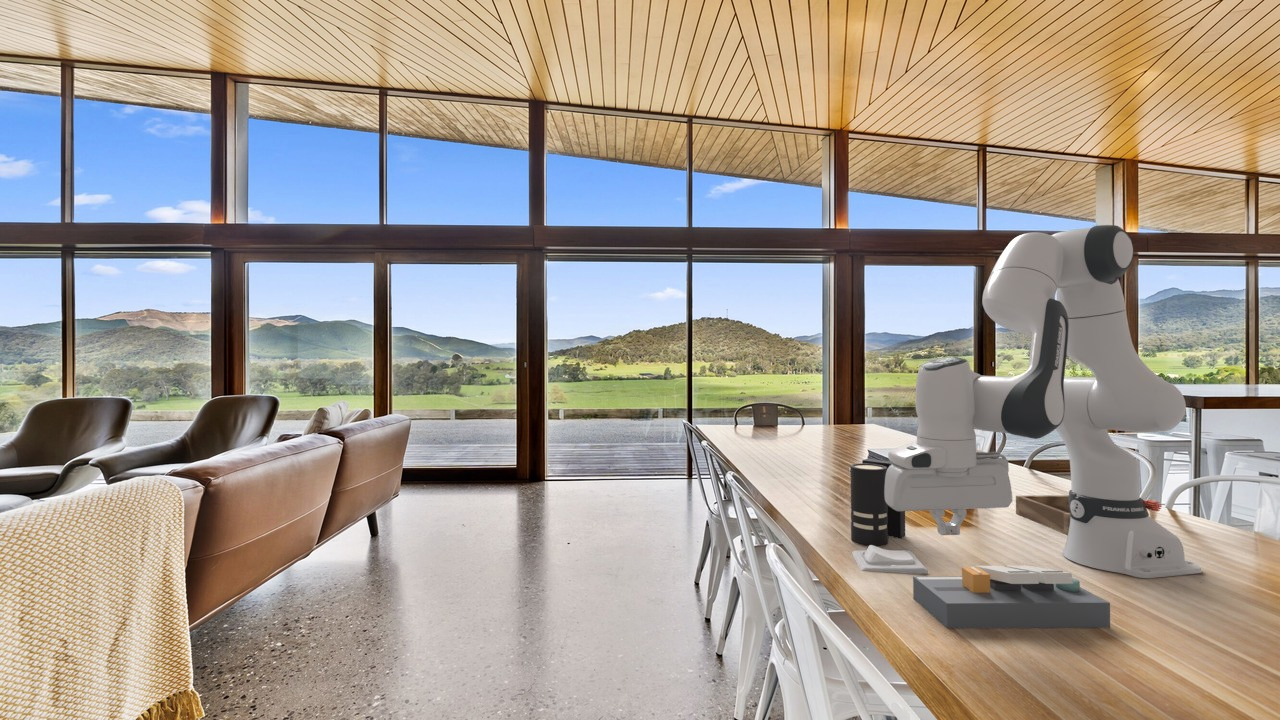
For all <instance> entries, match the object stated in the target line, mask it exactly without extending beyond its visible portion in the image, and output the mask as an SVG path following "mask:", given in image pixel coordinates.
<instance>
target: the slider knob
mask: <svg viewBox="0 0 1280 720" xmlns="http://www.w3.org/2000/svg"><path fill="white" fill-rule="evenodd" d="M961 576H962V585H963V586H965V587H966V588H967V589H969V590H970V591H972V592H973V593H990V574H988V573H986V572H985V571H983V570H982V569H980V568H978V567H974V566H969V567H967V566H966V567H961Z"/></svg>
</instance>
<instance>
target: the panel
mask: <svg viewBox="0 0 1280 720" xmlns="http://www.w3.org/2000/svg"><path fill="white" fill-rule="evenodd" d="M912 584H913V585H912V586H913V587H912V589H913V592H912V593H913V594H912V595H913V600H914V601H915V602H917V604H919V605H920V606H921V607H922V608H924V610H926V611H927V612H928V613H929V614H930V615H931V616H932V617H933V618H935V619H936V620H937V621H938V622H939V623H940V624H941V625H943V626H944V628H946V629H1072V628H1073V629H1077V628H1078V629H1086V628H1089V629H1091V628H1092V629H1095V628H1096V629H1097V628H1098V629H1101V628H1103V629H1106V628H1107V629H1108V628H1110V629H1111V602H1110V601H1108V600H1106V599H1104V598H1103V597H1100V596H1098V595H1097V594H1094V593H1092V592H1091V591H1089V590H1087V589H1085V588H1082V587H1080V591H1079V592H1069V591H1064V590H1061V589H1059V588H1057V587H1056V584H1045V583H1040V582H1039V584H1010V583H1006V582H1001V581H997V580H993V579H990V593H973V592H972V591H970V590H969V589H967V588H966V587H965V586H963V585H962V575H959V576H958V575H957V576H956V575H955V576H954V575H948V576H947V575H946V576H943V575H940V576H939V575H936V576H933V575H932V576H931V575H929V576H927V575H926V576H925V575H924V576H921V575H920V576H919V575H918V576H917V575H916V576H912Z"/></svg>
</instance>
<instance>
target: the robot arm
mask: <svg viewBox="0 0 1280 720" xmlns="http://www.w3.org/2000/svg"><path fill="white" fill-rule="evenodd" d="M1133 258H1134V246H1133V243H1132V238H1131V236H1130V235H1129V233H1128V232H1127V230H1125V229H1124V228H1122V227H1120V226H1119V225H1115V224H1113V225H1112V224H1101V225H1093V226H1092V227H1087V228H1079V229H1078V228H1077V229H1072V230H1065V231H1060V232H1056V233H1053V234H1049V233H1045V232H1040V231H1039V232H1038V231H1035V232H1034V231H1033V232H1027V233H1023V234H1020V235H1018V236H1016V237H1014V238H1013V239H1012V240H1011V241H1010V242H1009V243H1008V245H1007V246H1006V247H1005V248H1004V250H1003V251H1002V253H1001V254H1000V255H999V257H998V259H997V260H996V262H995V264H994V267H993V268H992V271H991V272H990V275H989V277H988V280H987V282H986V284H985V286H984V289H983V293H982V301H981V302H982V303H981V304H982V307H983V309H984V312H985V314H987V316H988V317H989V318H990V319H991V320H992V321H993V322H994V323H996V324H997V325H998V326H1001V327H1002V328H1004V329H1007V330H1009V331H1012V332H1016V333H1020V334H1024V335H1027V336H1030V337H1031V343H1030V349H1029V350H1030V351H1029V356H1028V357H1029V358H1028V363H1027V364H1028V365H1027V370H1025V371H1024V372H1023V373H1021V374H1020V373H1019V374H1017V375H1013V376H1012V375H1011V376H1010V375H1009V376H1008V375H1005V376H1003V375H1001V376H999V375H981V374H980V373H977V372H975V371H973V370H972V369H971V366H970V363H969V361H968V360H967V359H965V358H961V357H942V358H935V359H930V360H927V361H925V362H924V363H922V364H920V365H919V368H918V371H917V377H916V384H915V413H916V416H917V417H918V419H917V420H918V427H917V431H916V440H914V441H912V442H910V443H907V444H904V445H902V446H899V447H896V448H893V449H891V450H888V451H889V452H888V461H890V462H892V463H894V464H892V465H890V466H889V467H888V469H887V471H886V476H885V491H884V494H885V502H886V503H887V504H888V505H889V506H890V507H891V508H892V509H894V510H896V511H905V512H914V511H915V512H916V511H917V512H918V511H929V512H930V513H929V514H930V515H931V516H932V518H933V519H934V522H936V523H937V524H936V525H937V527H936V529H937V533H938V535H941V536H959V535H960V534H961V525H962V523H963V521H964V520H965V519H966V517H967V510H968V509H969V510H973V509H974V510H975V509H997V508H999V509H1001V508H1009V507H1010V505H1011V504H1012V502H1013V492H1012V484H1011V480H1010V475H1009V469H1010V468H1009V460H1008V458H1007V457H1006V456H1005V455H1003V454H1002V453H1000V451H999V452H998V451H989V452H984V451H977V435H976V432H975V430H979V431H982V432H983V431H984V432H993V433H1002V434H1010V435H1012V436H1013V435H1014V436H1018V437H1019V436H1020V437H1024V438H1028V439H1032V440H1033V439H1035V440H1037V439H1041V438H1043V437H1045V436H1047V435H1049V434H1050V433H1052V432H1053V431H1056V432H1057V433H1058V435H1059V436H1060V437H1061V439H1062V441H1063V443H1064V445H1065V448H1066V450H1067V454H1068V458H1069V465H1070V466H1069V467H1070V468H1069V469H1070V481H1071V482H1070V483H1071V487H1070V490H1068V495H1069V510H1070V515H1071V517H1070V525H1069V531H1068V535H1067V537H1066V541H1065V545H1064V548H1063V550H1062V556H1064V558H1066V559H1068V560H1070V561H1072V562H1074V563H1077V564H1079V565H1083V566H1087V567H1090V568H1093V569H1098V570H1102V571H1107V572H1114V573H1118V574H1124V575H1128V576H1131V577H1134V578H1135V577H1136V578H1140V579H1153V578H1162V577H1163V578H1164V577H1173V576H1184V575H1193V574H1201V573H1202V571H1203V570H1202V567H1200V566H1199V565H1198V564H1196V563H1195V562H1193V561H1191V560H1189V559H1186V558H1185V551H1184V550H1185V549H1184V546H1183V543H1182V541H1181V539H1180V538H1179V537H1178V536H1177V535H1176V534H1174V533H1173V532H1171V531H1170V530H1168V529H1167V528H1166V527H1164V526H1163V525H1162V524H1160V523H1158V521H1156V520H1155V519H1153V518H1152V517H1151V516H1150V514H1149V511H1148V510H1150V511H1153V512H1156V513H1157V512H1160V510H1161V509H1162V504H1160V502H1159V501H1156V500H1152V499H1147V500H1144V499H1143V498H1141V496H1140V495H1141V494H1140V464H1139V462H1138V460H1137V459H1136V457H1135V456H1134V455H1133V454H1132V453H1130V452H1129V451H1127V450H1125V449H1123V448H1122V447H1120V446H1118V445H1117V444H1116V443H1115V442H1114V441H1113V439H1112V438H1111V436H1110V434H1109V430H1110V431H1122V432H1131V433H1156V432H1169V431H1170V430H1173V429H1174V428H1176V427H1177V426H1178V425H1179V424H1180V423H1181V422H1182V420H1183V419H1184V417H1185V415H1186V410H1187V404H1186V399H1185V397H1184V395H1183V394H1182V392H1181V391H1180V389H1179V388H1177V386H1175V385H1174V384H1173V383H1171V382H1169V381H1167V380H1165V379H1163V378H1162V377H1161V376H1159V375H1157V374H1156V373H1154V372H1153V371H1152V370H1151V369H1150V368H1149V366H1147V364H1145V363H1144V361H1143V360H1142V359H1141V358H1140V355H1138V353H1137V351H1136V349H1135V347H1134V344H1133V341H1132V337H1131V332H1130V327H1129V321H1128V315H1127V309H1126V308H1127V307H1126V303H1125V297H1124V293H1123V289H1122V285H1121V282H1120V280H1119V278H1121V277H1122V276H1123V275H1124V274H1125V273H1126V272H1127V271H1128V270H1129V268H1130V267H1131V266H1132V263H1133V260H1134V259H1133ZM1067 357H1068V358H1070V359H1072V360H1074V361H1075V362H1078V363H1080V364H1082V365H1084V366H1085V367H1086V368H1088V370H1090V372H1091V373H1092V374H1093V376H1067V377H1066V376H1065V374H1066V363H1067ZM945 510H950V511H951V513H953V516H952V517H951V519H950V521H947V522H946V521H945V520H944V519H943V517H944V516H945V515H946V513H945Z"/></svg>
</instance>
